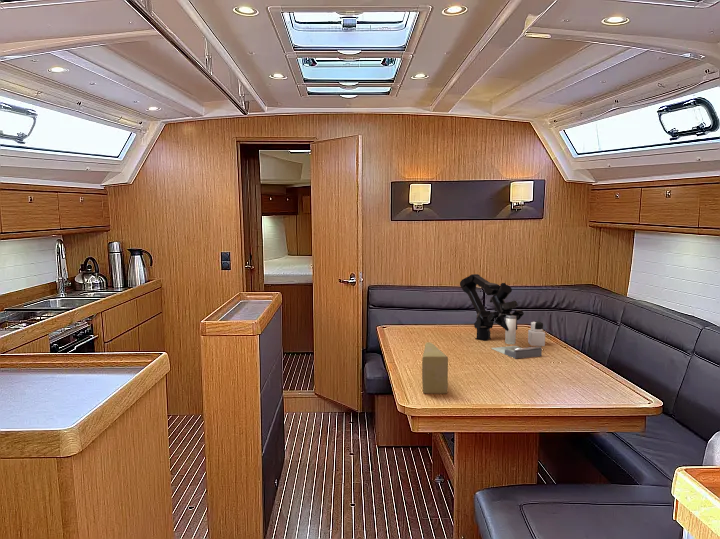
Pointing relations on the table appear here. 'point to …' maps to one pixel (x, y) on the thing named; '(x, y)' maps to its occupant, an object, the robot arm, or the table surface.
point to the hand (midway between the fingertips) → (512, 329)
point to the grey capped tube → (510, 329)
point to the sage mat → (502, 349)
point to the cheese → (434, 370)
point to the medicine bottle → (536, 334)
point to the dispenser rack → (524, 352)
